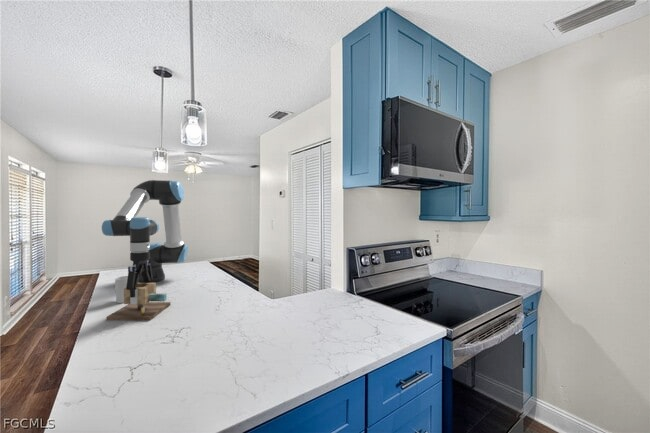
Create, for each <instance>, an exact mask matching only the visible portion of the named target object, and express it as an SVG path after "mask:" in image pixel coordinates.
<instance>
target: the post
mask: <svg viewBox="0 0 650 433" xmlns="http://www.w3.org/2000/svg"><path fill="white" fill-rule="evenodd" d="M142 307H144V304H137V310H141V308H142Z"/></svg>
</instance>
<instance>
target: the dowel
mask: <svg viewBox="0 0 650 433" xmlns="http://www.w3.org/2000/svg"><path fill="white" fill-rule="evenodd" d="M144 315H145V307H142V308H141V316H144Z"/></svg>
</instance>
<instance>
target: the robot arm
mask: <svg viewBox="0 0 650 433" xmlns="http://www.w3.org/2000/svg"><path fill="white" fill-rule="evenodd" d="M151 200H152V201H158V203H159V205H161V206H162V214H163V223H164V233H165V234H164V236H165V241H164V243H162V242H154V243H153V242H152V243H150V242H151V241H150V240H151V239H150V238H151V236H153V235H155V234H156V233H158V232H159V230H160V226H159V223H158V222H157V221H156V220H153V219H150V218H149V217H148V216H147V217H145V216H144V217H142V216H140V217H138V215H139V213H140V211H141V210H142V208H144V205H145V204H146V203H148V202H149V201H151ZM183 200H184V188H183V186H182V184H181V182H180V181H177V180H156V179H155V180H154V179H150V180H146V181H143V182H141V183H139V184H138V185H136V186H135V187H134V188H133V189H132V190H130V196H129V197H128V199H127V200H126V201H125V203H124V204H123V206H122V207H121V208H120V210H119V211H118V213H116V215H115V216H114V217H113V219H106V220H104V221H103V222H102V223H101V231H102V234H103V235H104V236H107V237H111V236H112V237H129V252H130V253H129V254H130V255H129V256H130V257H129V259H130V261H131V262H132V265H131V266H128V267H127V269H128V270H127V276H128V279H127V286H126V290H130V304H138V289H136V287H137V284H138V283H156V282H161V281H164V280H165V279H166V273H165V272H164V269H163V265H162V264H181V263H184V262H185V261H186V259H187V255H188V251H189V250H188V248H189V247H188V245H187V244H185V241H184V240H182V234H181V232H182V231H181V222H180V219H181V218H180V210H179V208H180V207H179V205H180V204H181V203H182V201H183Z"/></svg>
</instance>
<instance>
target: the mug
mask: <svg viewBox="0 0 650 433" xmlns="http://www.w3.org/2000/svg"><path fill="white" fill-rule="evenodd" d="M127 279H128V275H124V276H123V275H122V276H118V277H115V280H114V288H115V302H116V303H117V304H124V288H126V286H127Z"/></svg>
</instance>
